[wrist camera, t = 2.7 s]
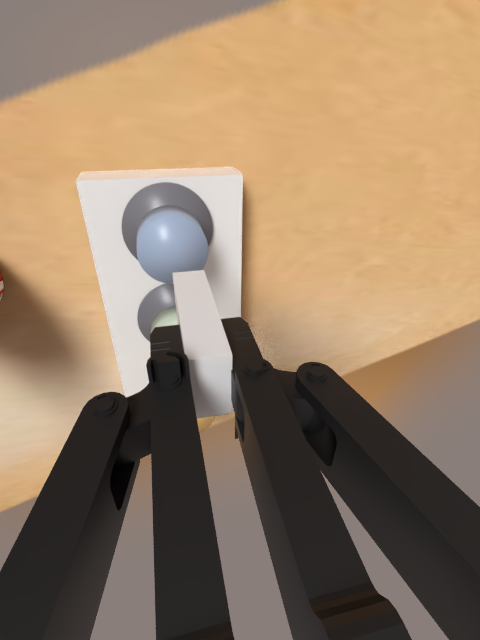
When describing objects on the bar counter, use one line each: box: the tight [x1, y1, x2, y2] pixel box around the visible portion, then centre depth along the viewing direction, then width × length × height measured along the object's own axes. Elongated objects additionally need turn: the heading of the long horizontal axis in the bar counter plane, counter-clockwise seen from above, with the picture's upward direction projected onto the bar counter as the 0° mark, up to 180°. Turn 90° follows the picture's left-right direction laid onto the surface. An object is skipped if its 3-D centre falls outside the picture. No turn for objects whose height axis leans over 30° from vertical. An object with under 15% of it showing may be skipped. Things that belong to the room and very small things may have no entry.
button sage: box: [151, 306, 178, 333], centre depth 27 cm, size 4×4×2 cm
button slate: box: [137, 205, 209, 284], centre depth 23 cm, size 4×4×2 cm
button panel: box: [76, 167, 243, 397], centre depth 31 cm, size 11×22×3 cm, turn 179°
